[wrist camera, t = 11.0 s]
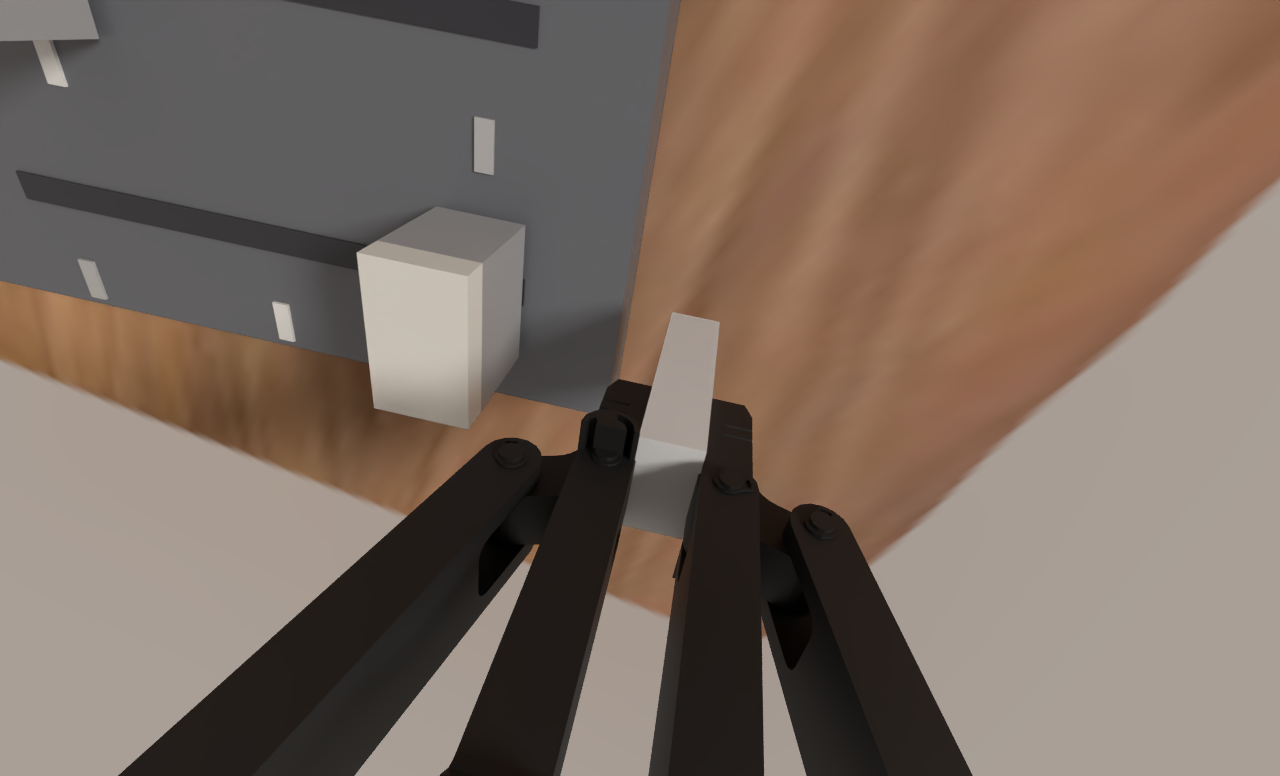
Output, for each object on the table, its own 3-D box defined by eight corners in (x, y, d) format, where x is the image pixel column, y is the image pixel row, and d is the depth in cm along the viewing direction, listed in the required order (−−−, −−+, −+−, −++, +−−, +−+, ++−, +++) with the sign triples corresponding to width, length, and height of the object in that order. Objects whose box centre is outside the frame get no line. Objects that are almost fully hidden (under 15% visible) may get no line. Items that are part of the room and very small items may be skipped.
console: (-139, -204, 18) (-263, -236, 16) (689, -53, 17) (679, -64, 14) (52, 258, 26) (-13, 279, 24) (618, 383, 25) (605, 418, 23)
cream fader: (436, 206, 19) (356, 252, 15) (525, 224, 19) (467, 276, 15) (440, 340, 22) (374, 408, 18) (518, 357, 22) (468, 429, 18)
